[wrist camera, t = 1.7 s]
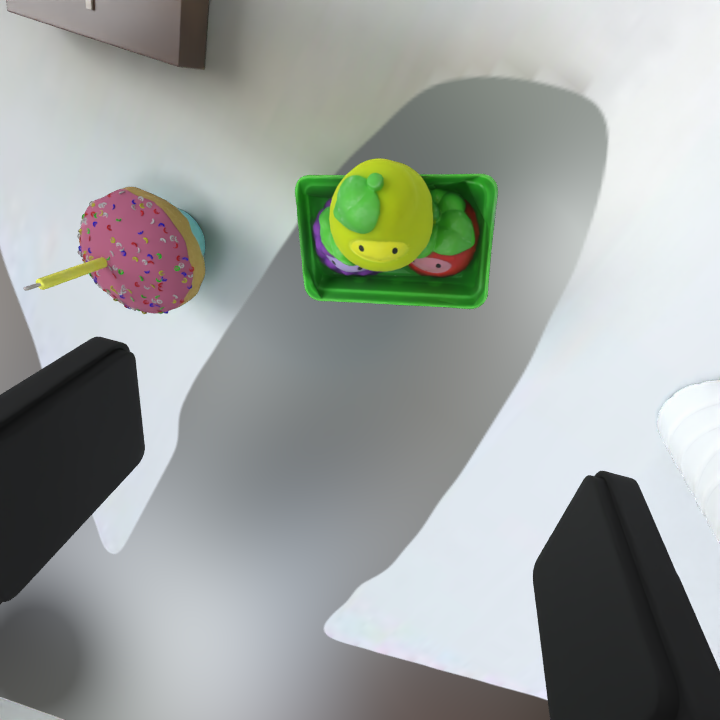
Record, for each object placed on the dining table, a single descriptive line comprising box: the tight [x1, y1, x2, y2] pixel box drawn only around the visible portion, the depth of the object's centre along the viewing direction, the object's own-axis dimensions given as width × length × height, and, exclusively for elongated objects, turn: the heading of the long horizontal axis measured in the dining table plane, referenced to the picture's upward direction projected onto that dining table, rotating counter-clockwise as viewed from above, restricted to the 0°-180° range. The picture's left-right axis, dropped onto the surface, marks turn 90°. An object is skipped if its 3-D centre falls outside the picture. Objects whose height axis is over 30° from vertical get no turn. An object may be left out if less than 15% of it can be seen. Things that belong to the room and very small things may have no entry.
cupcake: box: [23, 187, 205, 314], centre depth 30 cm, size 9×8×12 cm
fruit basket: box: [295, 158, 498, 309], centre depth 26 cm, size 11×9×11 cm
